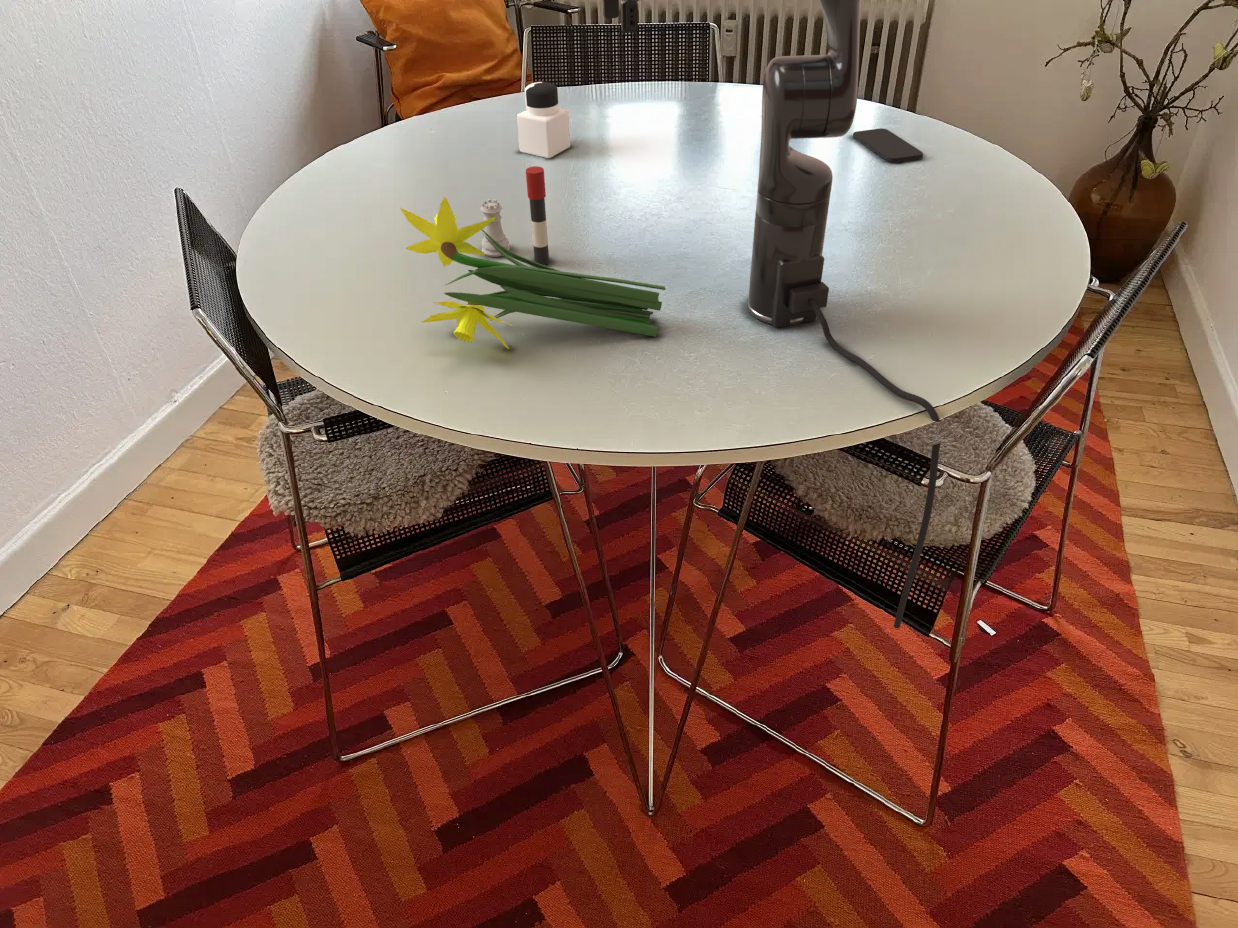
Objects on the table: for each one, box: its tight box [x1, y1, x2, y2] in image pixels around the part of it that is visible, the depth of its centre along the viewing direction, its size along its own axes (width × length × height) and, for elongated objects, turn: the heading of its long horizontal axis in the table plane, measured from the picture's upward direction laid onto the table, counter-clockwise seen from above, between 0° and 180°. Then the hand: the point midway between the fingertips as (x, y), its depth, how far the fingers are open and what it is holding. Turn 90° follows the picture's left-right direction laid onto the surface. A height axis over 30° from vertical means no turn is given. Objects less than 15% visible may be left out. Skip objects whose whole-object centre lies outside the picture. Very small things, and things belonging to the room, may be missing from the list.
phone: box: [852, 128, 924, 163], centre depth 172 cm, size 7×1×15 cm
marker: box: [525, 165, 550, 266], centre depth 134 cm, size 3×3×14 cm
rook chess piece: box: [480, 198, 511, 258], centre depth 140 cm, size 4×4×8 cm
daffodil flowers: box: [399, 196, 666, 350], centre depth 119 cm, size 17×15×35 cm
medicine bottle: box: [516, 81, 571, 159], centre depth 171 cm, size 7×7×12 cm
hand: (620, 25), depth 130 cm, fingers open, 8 cm apart
